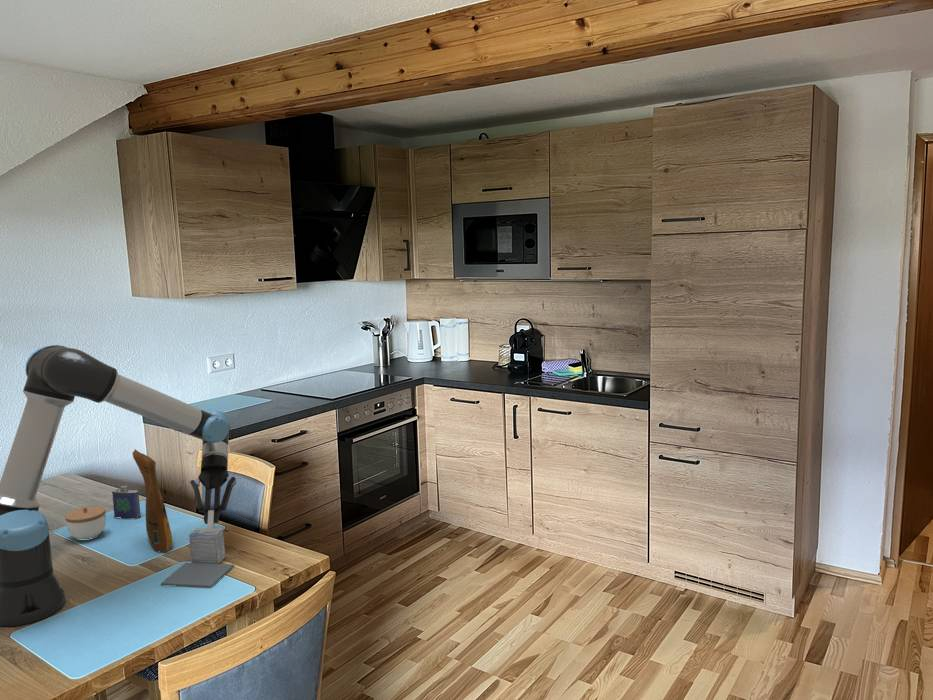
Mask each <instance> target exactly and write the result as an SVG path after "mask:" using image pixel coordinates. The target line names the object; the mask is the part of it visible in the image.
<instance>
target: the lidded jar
mask: <svg viewBox="0 0 933 700" xmlns="http://www.w3.org/2000/svg"><path fill="white" fill-rule="evenodd" d="M64 518H65V522H66V529H67V531H68V533H69V534H70V535H71V536H72V537H73V538H74V539H76V540H77V539H90V538H94V537H96V536H98V535H99V534H101V533H102V532H103V531H104V528H105V526H106V522H107V521H106V520H107V519H106V518H107V517H106V508H105V507H102V506H99V505H97V506H84V507H81V508H77V509H74V510H72V511H70V512H68V513H67V514H66V515H65V517H64ZM99 536H100V535H99ZM99 536H98V537H99Z"/></svg>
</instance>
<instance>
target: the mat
mask: <svg viewBox="0 0 933 700" xmlns="http://www.w3.org/2000/svg"><path fill="white" fill-rule="evenodd" d="M234 567H235V564H231V563H230V564H228V563H219V564H215V563H192V562H187V561H186V562H184V563H183V564H182V565H181V566H179V568H177V569H176V570H175V571H174V572H172V573H171V574H170V575H168V576H167V577H166V578H165V579H163V580H162V581H161V582H160V586H163V585H176V586H175V587H183V586H187V588H203V587H212V586H213V585H214V584H215V583H216V582H217V581H218V580H219V579H220V578H221V579H222V578H224V577H223V576H224V575H225V576H226V575H227V574H228V573H229V572H230V571H231V570H232V569H233V568H234ZM221 579H220V580H221ZM220 580H219V581H220ZM219 581H218V582H219ZM218 582H217V583H218ZM217 583H216V584H217ZM216 584H215V585H216ZM215 585H214V586H215ZM214 586H213V587H214ZM213 587H212V588H213Z"/></svg>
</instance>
